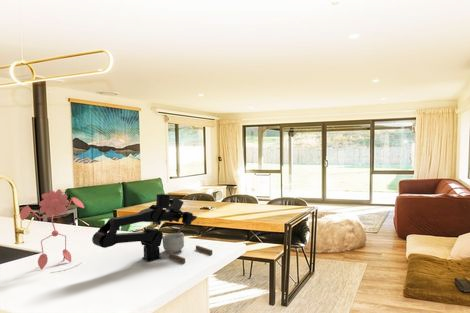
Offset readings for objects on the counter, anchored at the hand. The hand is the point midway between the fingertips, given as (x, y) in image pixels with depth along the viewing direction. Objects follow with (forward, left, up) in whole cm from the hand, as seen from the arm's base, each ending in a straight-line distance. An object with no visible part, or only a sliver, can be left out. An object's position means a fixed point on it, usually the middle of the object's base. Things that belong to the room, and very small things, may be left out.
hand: (190, 215), depth 182 cm
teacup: (-10, 0, -16) cm, 19 cm away
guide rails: (-10, -13, -16) cm, 23 cm away
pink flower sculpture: (-60, +20, -16) cm, 65 cm away
